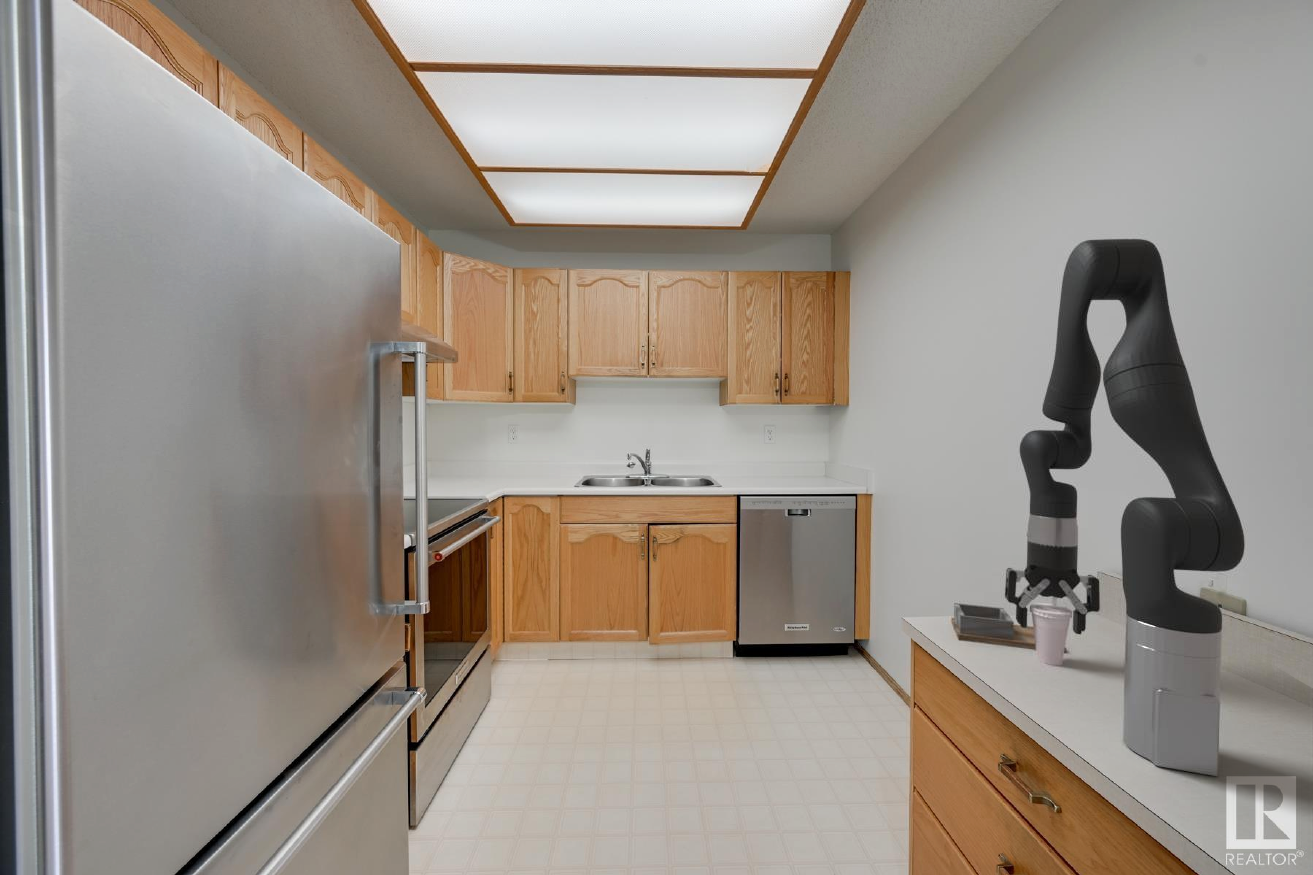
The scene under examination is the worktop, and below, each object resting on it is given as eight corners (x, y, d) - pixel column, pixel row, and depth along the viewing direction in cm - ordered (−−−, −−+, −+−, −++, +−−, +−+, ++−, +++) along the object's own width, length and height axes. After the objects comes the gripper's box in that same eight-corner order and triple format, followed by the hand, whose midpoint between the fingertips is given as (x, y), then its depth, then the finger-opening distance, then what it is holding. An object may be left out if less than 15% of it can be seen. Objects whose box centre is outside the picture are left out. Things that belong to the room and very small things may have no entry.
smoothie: (1070, 671, 99) (1072, 591, 99) (1026, 662, 103) (1028, 585, 103) (1071, 660, 104) (1073, 583, 104) (1029, 651, 108) (1031, 577, 108)
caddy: (1065, 653, 107) (1066, 629, 107) (958, 639, 114) (959, 617, 114) (1048, 633, 118) (1049, 611, 118) (951, 622, 124) (951, 601, 124)
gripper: (1011, 541, 102) (1009, 631, 103) (1108, 547, 97) (1105, 642, 98) (1002, 533, 109) (1000, 618, 110) (1092, 539, 104) (1089, 628, 105)
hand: (1049, 629), depth 104 cm, fingers open, 8 cm apart
